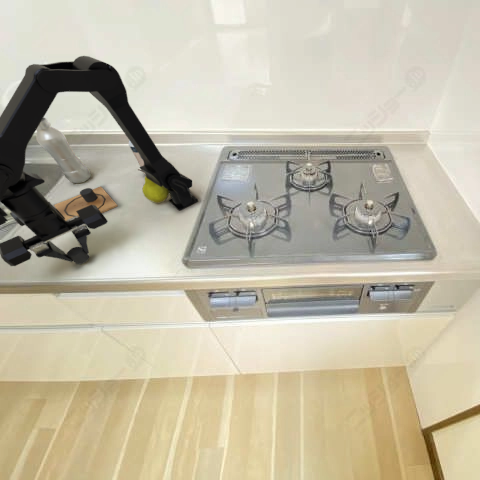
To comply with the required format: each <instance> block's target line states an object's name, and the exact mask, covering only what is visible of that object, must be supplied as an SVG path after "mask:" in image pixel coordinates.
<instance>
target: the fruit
mask: <svg viewBox="0 0 480 480" xmlns="http://www.w3.org/2000/svg"><path fill="white" fill-rule="evenodd" d="M137 171H140V172H142V173H144V172H143V171H142V170H141V169H140V168H138V169H137ZM142 194H143V196H144V197H145V198H146V199H147V200H148V201H151V202H152V203H157V204H160V203H163V202H165V201H166V200H167V198H168V197H169V196H170V194H169V192H168V190H167V189H166V188H164V187H163V186H162V187H160V186H159V185H157V184H155V183H154V182H152V181H151V180H149V179H147V177H146V176H144V184H143V186H142Z"/></svg>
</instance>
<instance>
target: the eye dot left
mask: <svg viewBox="0 0 480 480" xmlns="http://www.w3.org/2000/svg"><path fill="white" fill-rule="evenodd" d="M66 254H67V256H68V257H69V258H70V259H71V260H73V261H72V263H74V264H76V265H82V264H85V263H86V262H88V261H89V259H90V258H91V257H90V254H89V253H88V254H87V253H86V252H85V251H84V250H83V248H82V247H81V246H74V247H72V248H70V249H69V250H68V251H67V252H66Z"/></svg>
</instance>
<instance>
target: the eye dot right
mask: <svg viewBox="0 0 480 480" xmlns="http://www.w3.org/2000/svg"><path fill="white" fill-rule="evenodd" d="M79 195H81V196H82V197H83V198H84V200H85V201H86V202H93V201H95V200H97V198H98V197H97V196H96V194H95V193H94V191H93V189H92V188H91V187H87V188H83V189H81V190H80V191H79Z"/></svg>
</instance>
